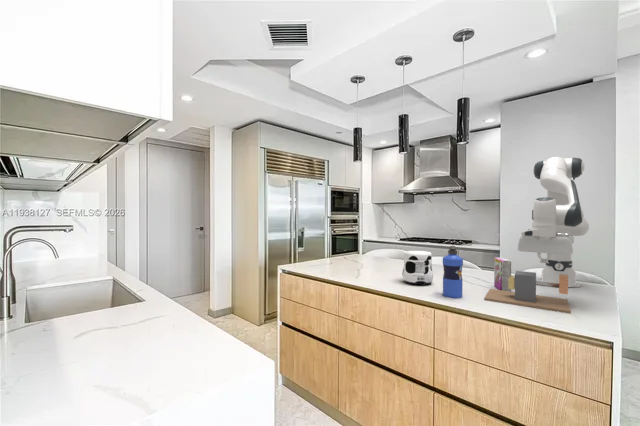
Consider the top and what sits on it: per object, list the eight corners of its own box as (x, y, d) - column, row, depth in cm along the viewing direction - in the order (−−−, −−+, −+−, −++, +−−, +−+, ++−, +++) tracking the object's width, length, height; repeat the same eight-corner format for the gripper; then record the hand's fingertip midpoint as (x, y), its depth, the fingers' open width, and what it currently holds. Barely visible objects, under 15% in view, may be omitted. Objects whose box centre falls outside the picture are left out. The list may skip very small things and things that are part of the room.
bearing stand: (489, 290, 161) (490, 266, 161) (567, 301, 143) (567, 273, 142) (484, 300, 145) (484, 272, 145) (570, 313, 126) (571, 282, 126)
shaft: (503, 284, 151) (503, 268, 151) (567, 292, 136) (567, 274, 136) (502, 286, 147) (503, 269, 147) (567, 294, 133) (568, 276, 133)
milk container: (415, 277, 191) (415, 249, 191) (439, 283, 177) (439, 252, 176) (396, 281, 182) (396, 251, 182) (419, 288, 167) (419, 255, 167)
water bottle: (439, 295, 152) (439, 246, 152) (446, 291, 159) (446, 244, 159) (459, 299, 146) (459, 247, 146) (465, 295, 153) (465, 245, 153)
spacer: (509, 286, 150) (509, 275, 150) (515, 287, 149) (515, 275, 148) (508, 288, 146) (508, 277, 145) (514, 289, 144) (514, 277, 144)
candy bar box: (493, 286, 170) (493, 257, 170) (503, 286, 169) (503, 257, 169) (501, 291, 159) (501, 260, 159) (511, 292, 158) (511, 261, 158)
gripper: (573, 233, 136) (572, 264, 136) (518, 231, 148) (518, 259, 148) (574, 234, 130) (574, 266, 131) (517, 232, 143) (517, 261, 143)
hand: (543, 262), depth 139 cm, fingers closed
